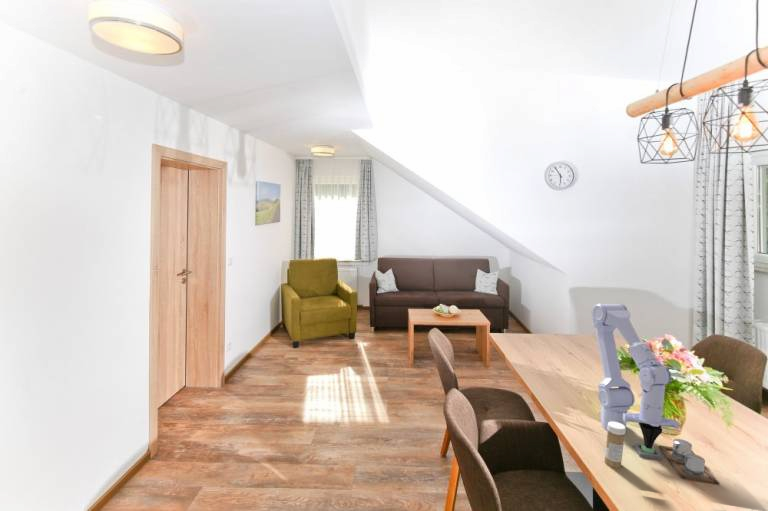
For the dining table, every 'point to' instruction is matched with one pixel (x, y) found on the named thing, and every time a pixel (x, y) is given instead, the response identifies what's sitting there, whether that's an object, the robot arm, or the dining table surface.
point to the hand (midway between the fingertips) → (647, 446)
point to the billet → (694, 465)
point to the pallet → (674, 463)
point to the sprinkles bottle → (614, 444)
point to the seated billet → (681, 449)
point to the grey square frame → (647, 455)
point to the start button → (647, 449)
